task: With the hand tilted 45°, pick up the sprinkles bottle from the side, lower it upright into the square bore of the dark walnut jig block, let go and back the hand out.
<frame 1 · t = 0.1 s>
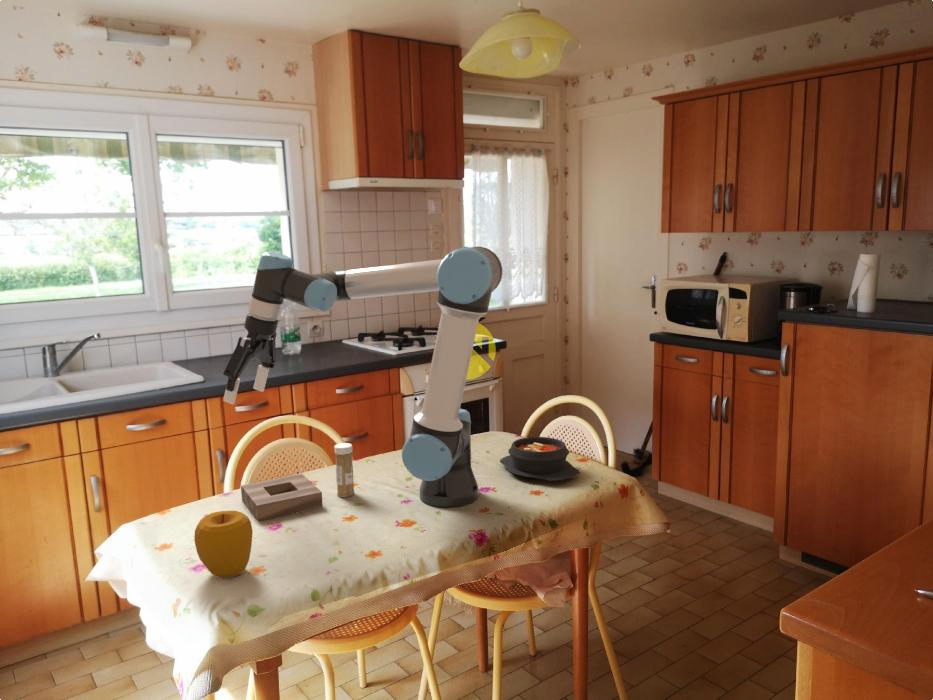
hand: (244, 396, 175), 28 cm above the table, tool tilted 20°, fingers open, 13 cm apart
sprinkles bottle: (345, 495, 183), on the table
walnut jig: (281, 503, 178), on the table
apple: (227, 574, 141), on the table
casserole: (538, 473, 197), on the table
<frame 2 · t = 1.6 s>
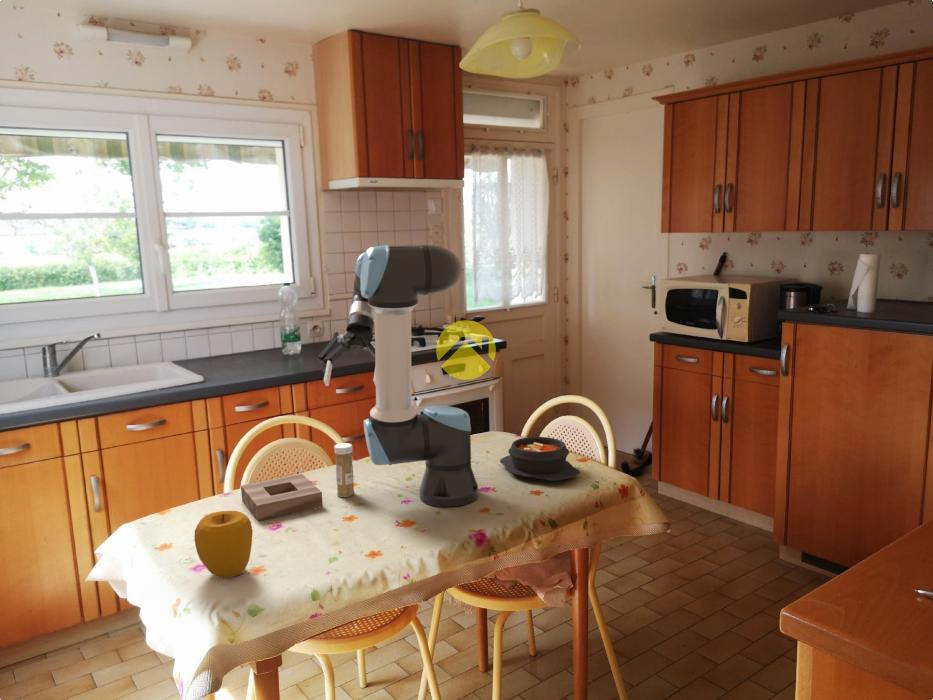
hand: (350, 383, 189), 27 cm above the table, tool tilted 45°, fingers open, 13 cm apart
nothing on the table moved.
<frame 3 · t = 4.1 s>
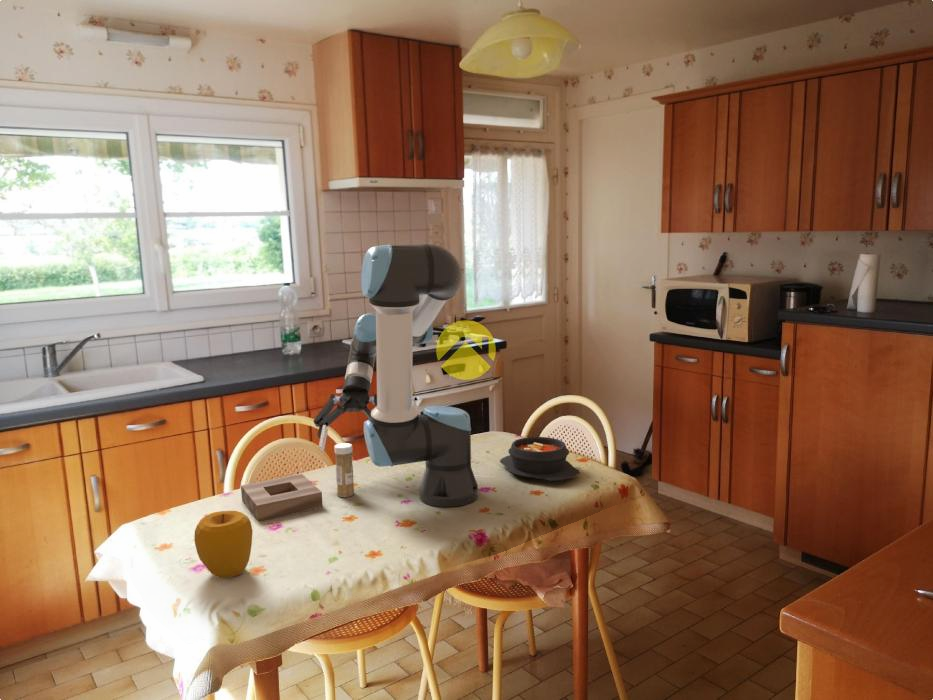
hand: (346, 449, 186), 11 cm above the table, tool tilted 45°, fingers open, 13 cm apart
nothing on the table moved.
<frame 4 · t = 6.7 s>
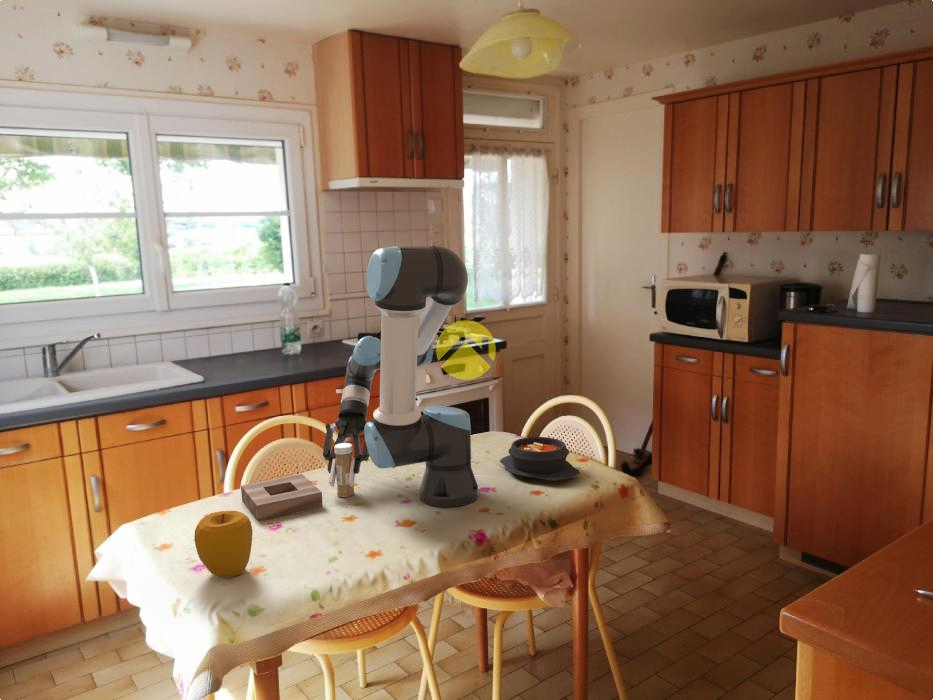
hand: (341, 484, 179), 4 cm above the table, tool tilted 45°, fingers closed on sprinkles bottle, 4 cm apart
sprinkles bottle: (345, 495, 183), on the table, touching gripper
everything else where it was.
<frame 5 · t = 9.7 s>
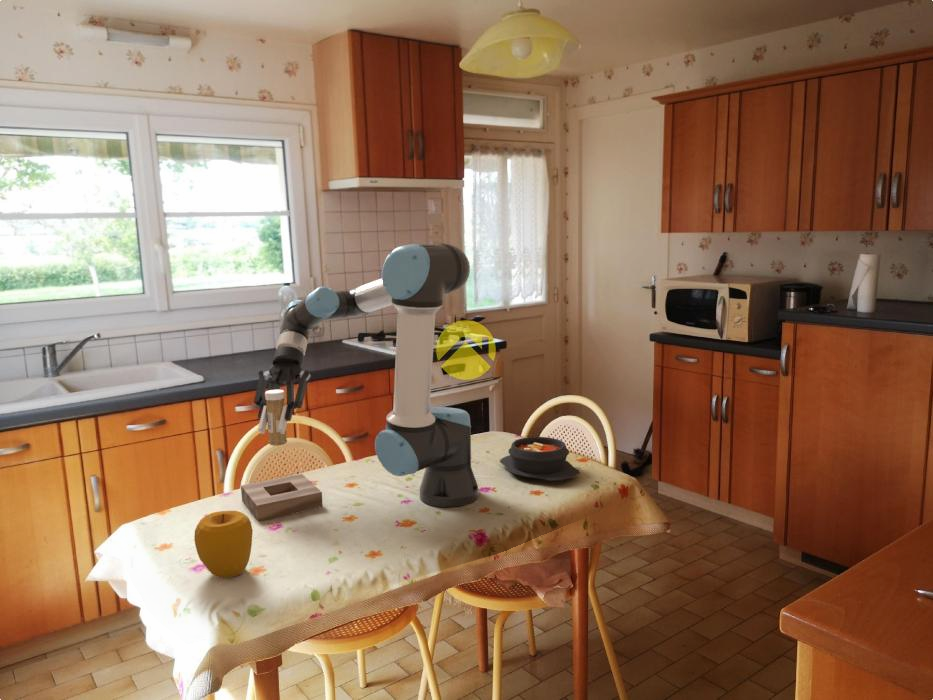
hand: (271, 431, 171), 20 cm above the table, tool tilted 45°, fingers closed on sprinkles bottle, 4 cm apart
sprinkles bottle: (277, 444, 175), point 16 cm above the table, touching gripper
everything else where it was.
when the fingers open (6 cm above the table, at t = 13.1 s): sprinkles bottle drops 2 cm, resting in walnut jig.
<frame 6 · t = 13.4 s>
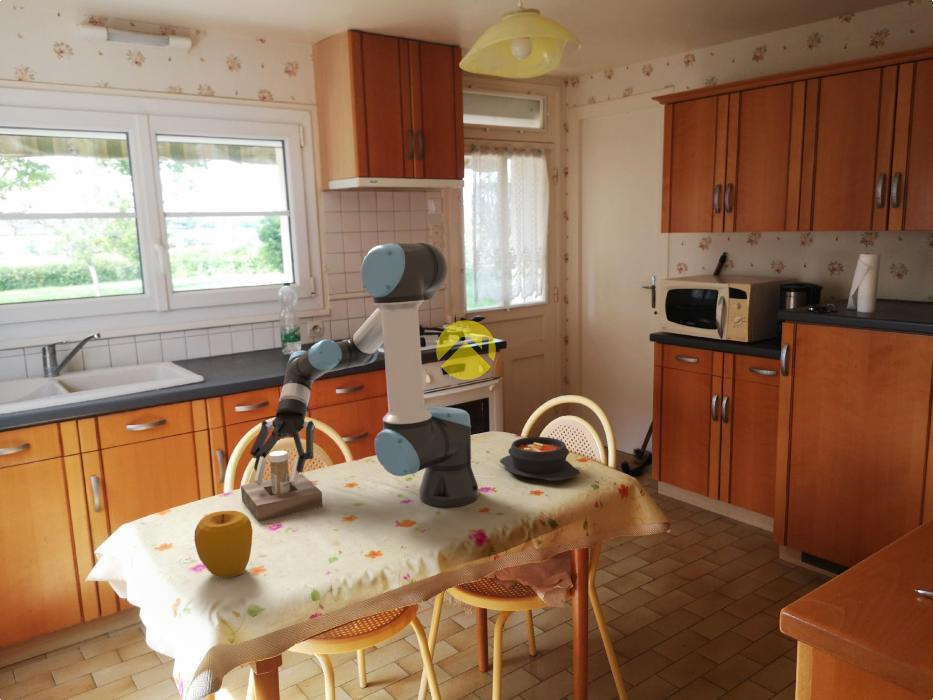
hand: (275, 483, 173), 7 cm above the table, tool tilted 45°, fingers open, 8 cm apart
sprinkles bottle: (281, 504, 178), resting in walnut jig
everything else where it was.
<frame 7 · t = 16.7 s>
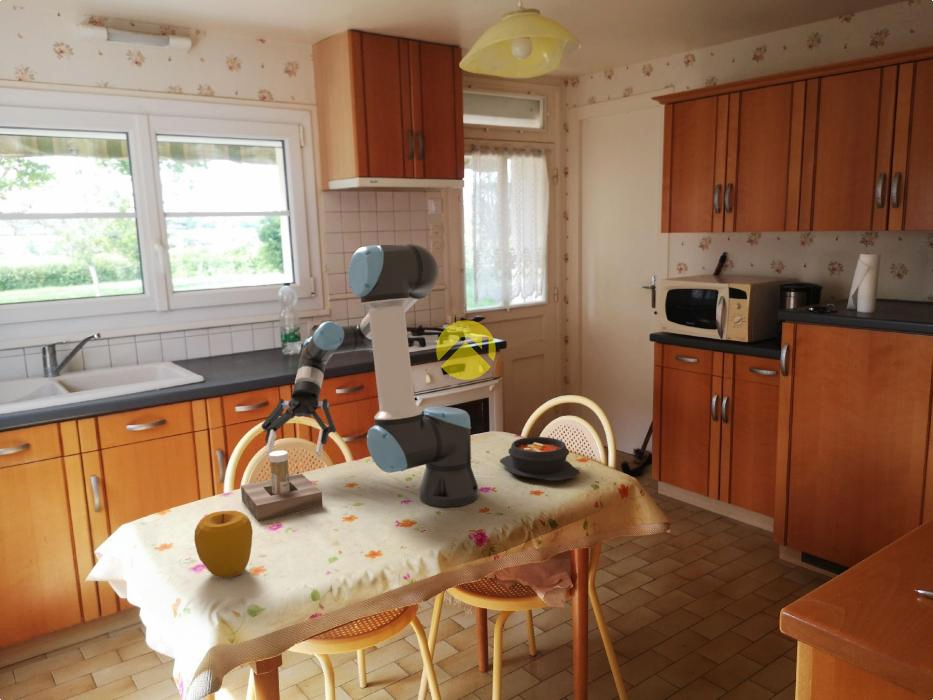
hand: (293, 454, 186), 10 cm above the table, tool tilted 45°, fingers open, 13 cm apart
nothing on the table moved.
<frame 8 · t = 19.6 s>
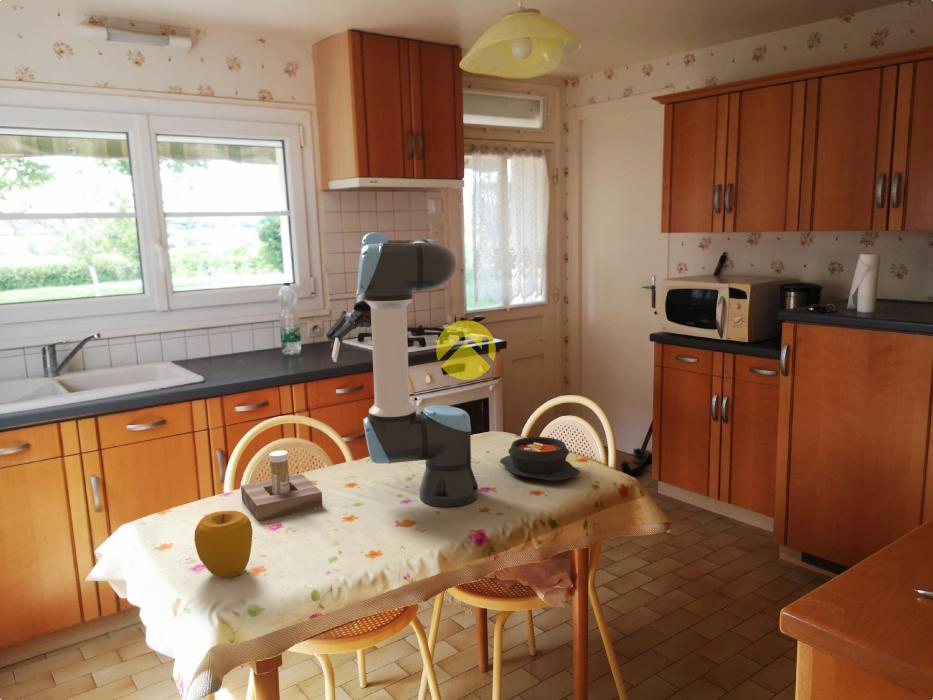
hand: (357, 359, 195), 33 cm above the table, tool tilted 45°, fingers open, 13 cm apart
nothing on the table moved.
at the end: sprinkles bottle 0.1 cm off-centre on the walnut jig, point 0.0 cm above the walnut jig's base; sprinkles bottle tilted 0°; the gripper is holding nothing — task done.
